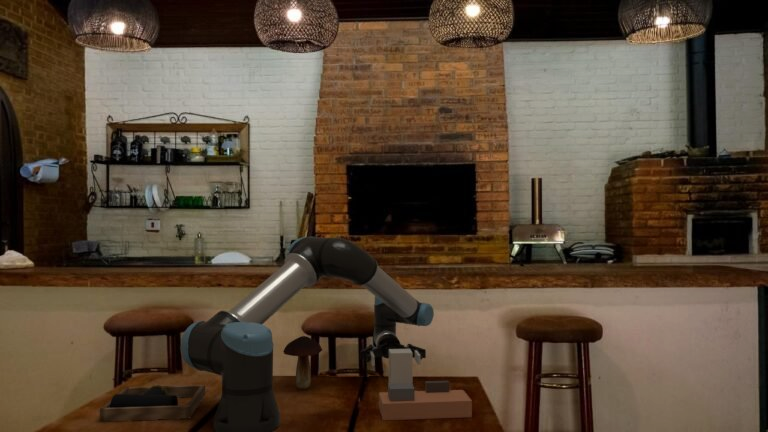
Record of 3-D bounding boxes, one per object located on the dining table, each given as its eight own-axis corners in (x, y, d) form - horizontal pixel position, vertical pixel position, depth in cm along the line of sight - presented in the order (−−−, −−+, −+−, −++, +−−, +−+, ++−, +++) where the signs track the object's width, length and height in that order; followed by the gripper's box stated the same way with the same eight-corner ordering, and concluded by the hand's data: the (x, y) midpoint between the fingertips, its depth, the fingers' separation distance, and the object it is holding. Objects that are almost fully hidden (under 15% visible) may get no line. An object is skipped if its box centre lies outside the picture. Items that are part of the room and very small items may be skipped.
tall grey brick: (390, 397, 157) (390, 353, 157) (388, 391, 162) (388, 349, 162) (412, 396, 157) (412, 352, 157) (409, 391, 162) (409, 348, 162)
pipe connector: (133, 382, 153) (188, 384, 152) (133, 402, 153) (188, 404, 152) (109, 397, 141) (169, 398, 140) (109, 418, 142) (169, 420, 141)
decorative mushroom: (308, 396, 157) (308, 341, 157) (275, 391, 162) (275, 338, 162) (329, 386, 167) (329, 334, 167) (298, 381, 172) (298, 331, 172)
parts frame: (99, 421, 138) (99, 409, 138) (125, 398, 156) (125, 387, 156) (189, 418, 140) (190, 406, 140) (205, 395, 158) (205, 385, 158)
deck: (382, 420, 139) (382, 391, 139) (376, 399, 155) (376, 373, 155) (471, 417, 141) (471, 388, 141) (456, 396, 157) (456, 371, 157)
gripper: (425, 355, 191) (438, 372, 170) (350, 357, 189) (353, 374, 168) (425, 332, 191) (438, 346, 170) (350, 334, 189) (353, 348, 168)
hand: (396, 360), depth 169 cm, fingers open, 13 cm apart
